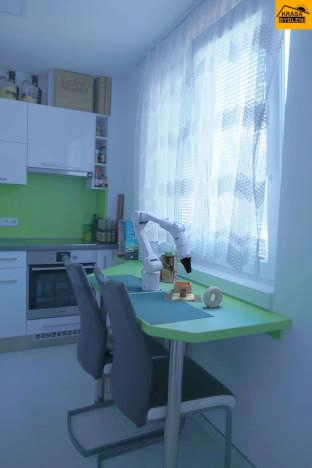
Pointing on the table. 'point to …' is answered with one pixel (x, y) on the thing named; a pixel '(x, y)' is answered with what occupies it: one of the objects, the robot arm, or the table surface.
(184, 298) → the lid
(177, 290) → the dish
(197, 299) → the mat
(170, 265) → the coffee box
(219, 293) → the donut
